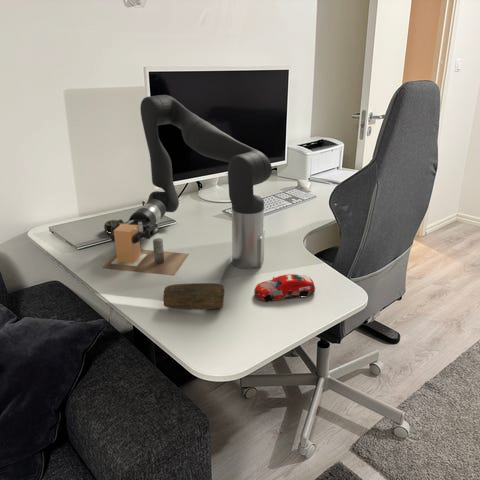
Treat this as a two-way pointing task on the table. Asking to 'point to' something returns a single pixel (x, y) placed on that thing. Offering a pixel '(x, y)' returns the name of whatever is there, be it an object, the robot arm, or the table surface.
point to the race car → (285, 287)
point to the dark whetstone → (194, 296)
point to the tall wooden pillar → (126, 243)
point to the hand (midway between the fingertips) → (123, 239)
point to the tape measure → (111, 224)
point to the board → (151, 261)
